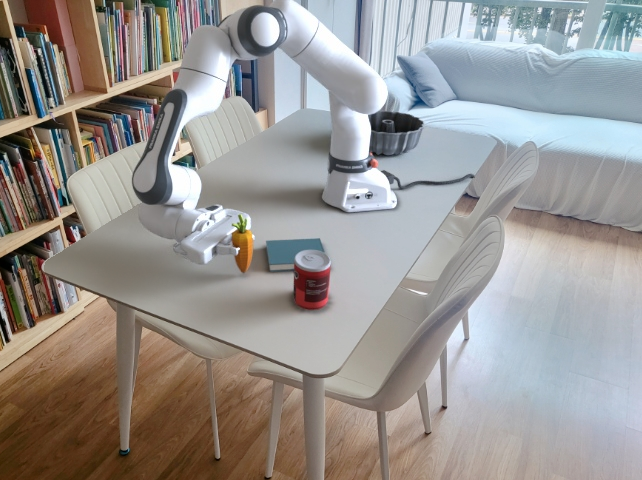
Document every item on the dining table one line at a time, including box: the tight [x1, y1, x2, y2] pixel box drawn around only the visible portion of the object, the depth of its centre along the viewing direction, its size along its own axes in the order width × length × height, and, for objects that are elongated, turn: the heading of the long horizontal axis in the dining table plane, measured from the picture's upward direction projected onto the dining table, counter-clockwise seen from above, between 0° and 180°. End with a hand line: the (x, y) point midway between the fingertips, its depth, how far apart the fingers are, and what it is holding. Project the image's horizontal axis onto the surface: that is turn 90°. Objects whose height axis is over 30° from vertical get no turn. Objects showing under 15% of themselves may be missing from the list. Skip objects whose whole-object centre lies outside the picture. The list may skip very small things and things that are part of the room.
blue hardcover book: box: [265, 237, 326, 273], centre depth 130 cm, size 14×11×2 cm
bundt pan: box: [368, 110, 425, 156], centre depth 192 cm, size 26×26×10 cm
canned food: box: [292, 250, 332, 311], centre depth 114 cm, size 8×8×11 cm
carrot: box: [231, 214, 254, 274], centre depth 119 cm, size 5×5×15 cm
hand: (245, 245), depth 119 cm, fingers closed on carrot, 5 cm apart
